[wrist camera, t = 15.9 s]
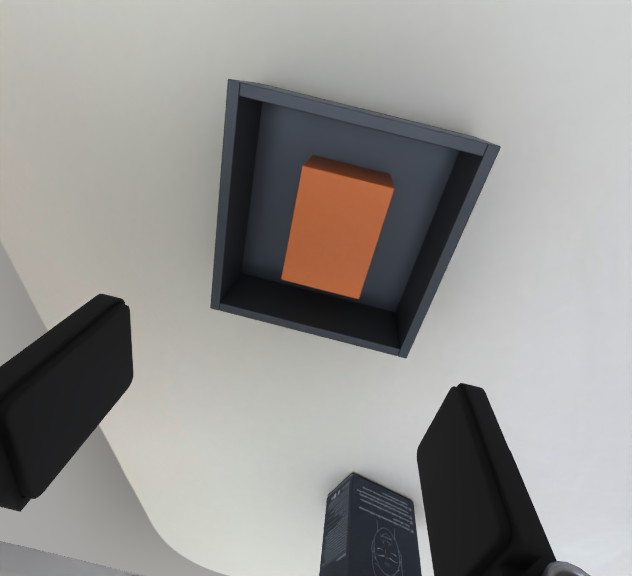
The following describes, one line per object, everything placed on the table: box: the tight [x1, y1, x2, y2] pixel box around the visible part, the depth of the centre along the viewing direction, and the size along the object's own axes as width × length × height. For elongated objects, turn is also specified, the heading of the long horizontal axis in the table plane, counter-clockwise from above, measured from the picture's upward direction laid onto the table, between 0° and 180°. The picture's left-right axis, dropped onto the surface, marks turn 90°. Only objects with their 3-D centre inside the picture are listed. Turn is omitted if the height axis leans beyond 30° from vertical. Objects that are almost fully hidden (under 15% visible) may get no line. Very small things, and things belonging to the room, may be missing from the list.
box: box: [319, 474, 422, 576], centre depth 34 cm, size 8×6×11 cm
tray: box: [210, 79, 500, 358], centre depth 22 cm, size 13×13×5 cm
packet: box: [281, 155, 394, 299], centre depth 22 cm, size 5×7×4 cm
